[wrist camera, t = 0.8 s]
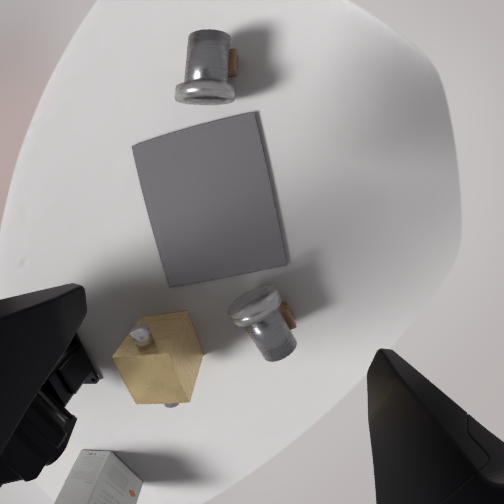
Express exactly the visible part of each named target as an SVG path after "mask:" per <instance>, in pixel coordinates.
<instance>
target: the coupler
mask: <svg viewBox="0 0 504 504" xmlns="http://www.w3.org/2000/svg"><path fill="white" fill-rule="evenodd" d="M202 358H203V353H202V350H201V347H200V344H199V342H198V339H197V336H196V333H195V330H194V327H193V324H192V322H191V319H190V316H189V313H188V311H182V312H176V313H169V314H163V315H156V316H149V317H142V318H140V319H139V320H138V321H137V323H136V324H135V325H134V327H133V328H132V329H131V330H130V332H129V334H128V335H127V337H126V338H125V339H124V341H123V342H122V344H121V345H120V346H119V348H118V349H117V351H116V352H115V353H114V355H113V356H112V359H113V361H114V363H115V365H116V367H117V369H118V371H119V373H120V375H121V377H122V379H123V381H124V383H125V385H126V386H127V388H128V390H129V392H130V394H131V396H132V397H133V399H134V401H135V403H136V404H164V405H165V406H166V407H169V408H171V407H175V406H177V405H178V404H179V403H186V402H190V400H191V396H192V393H193V389H194V386H195V382H196V379H197V375H198V372H199V368H200V365H201V362H202Z"/></svg>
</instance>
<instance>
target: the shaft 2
mask: <svg viewBox="0 0 504 504" xmlns="http://www.w3.org/2000/svg"><path fill="white" fill-rule="evenodd" d="M281 301H282V299H281V296H280V294H279V293H278V291H277V289H276V287H275V286H273V285H265V286H261V287H258V288H255V289H253V290H251V291H249V292H247V293H245V294H244V295H242V296H241V297H239V298H238V299H237V300H236V301H235V302H234V303H233V304H232V305H231V306H230V308H229V310H228V314H229V316H230V318H231V319H232V321H233V323H234V324H235V325H236V326H239V327H245V328H246V329H247V331H248V333H249V334H250V336H251V338H252V339H253V341H254V342H255V344H256V346H257V347H258V349H259V350H260V352H261V354H262V355H263V357H264V358H265V360H267V361H270V362H273V361H278V360H281V359H283V358H285V357H287V356H288V355H290V354H291V353H292V352H293V351H294V349H295V348H296V345H297V342H296V340H295V338H294V336H293V334H292V332H291V329H294V328H296V322H295V317H294V315H293V313H292V311H291V310H290V308H289V306H288V304H287V302H284V303H282V304H281Z"/></svg>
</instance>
